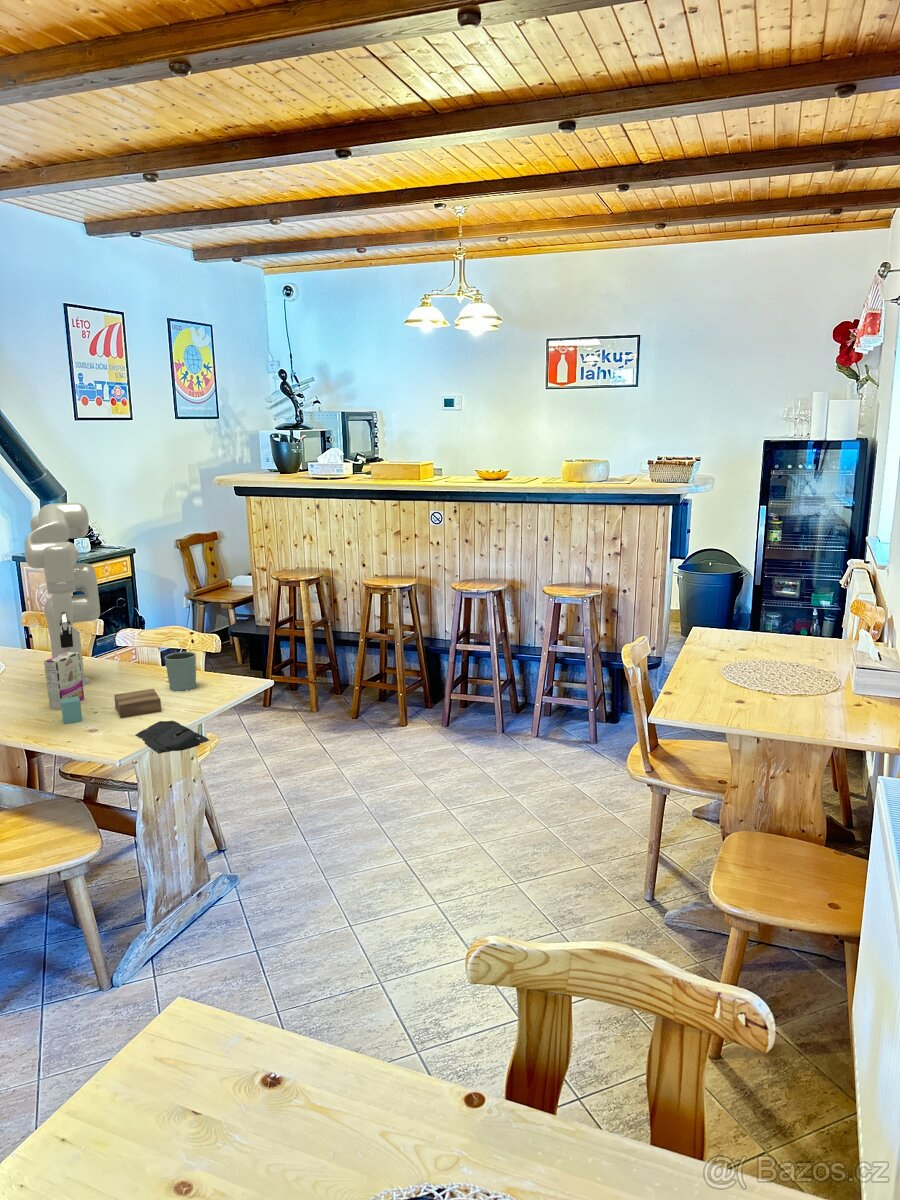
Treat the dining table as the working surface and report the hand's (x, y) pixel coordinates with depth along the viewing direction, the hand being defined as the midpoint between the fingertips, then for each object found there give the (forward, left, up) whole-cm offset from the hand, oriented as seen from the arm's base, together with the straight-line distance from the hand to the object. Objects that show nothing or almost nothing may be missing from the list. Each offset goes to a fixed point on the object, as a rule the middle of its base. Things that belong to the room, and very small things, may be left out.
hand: (67, 643), depth 237 cm
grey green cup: (-17, +35, -25) cm, 46 cm away
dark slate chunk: (+31, +22, -25) cm, 46 cm away
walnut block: (-1, +18, -25) cm, 31 cm away
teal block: (-1, -1, -25) cm, 25 cm away
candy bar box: (-19, -1, -25) cm, 31 cm away
